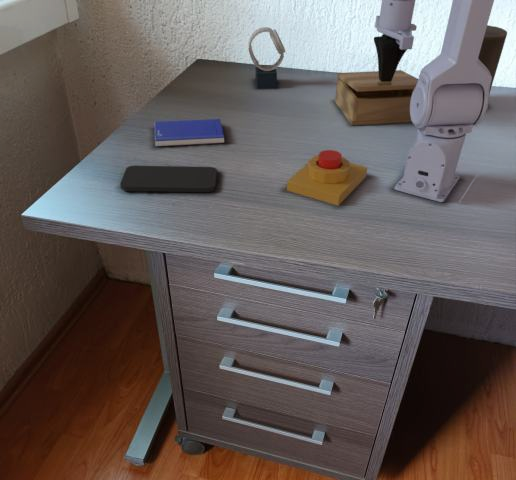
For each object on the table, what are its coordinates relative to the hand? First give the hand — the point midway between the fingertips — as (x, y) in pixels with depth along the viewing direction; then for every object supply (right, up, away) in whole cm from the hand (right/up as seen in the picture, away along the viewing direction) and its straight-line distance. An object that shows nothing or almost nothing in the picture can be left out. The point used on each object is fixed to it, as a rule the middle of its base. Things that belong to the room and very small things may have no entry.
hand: (385, 80), depth 101 cm
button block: (-13, -25, -15) cm, 32 cm away
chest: (0, -3, +7) cm, 7 cm away
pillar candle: (+19, 0, +10) cm, 21 cm away
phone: (-39, -24, -15) cm, 48 cm away
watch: (-23, +8, +18) cm, 30 cm away
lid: (0, +1, +2) cm, 3 cm away
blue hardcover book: (-37, -12, -3) cm, 39 cm away
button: (-13, -22, -18) cm, 31 cm away
